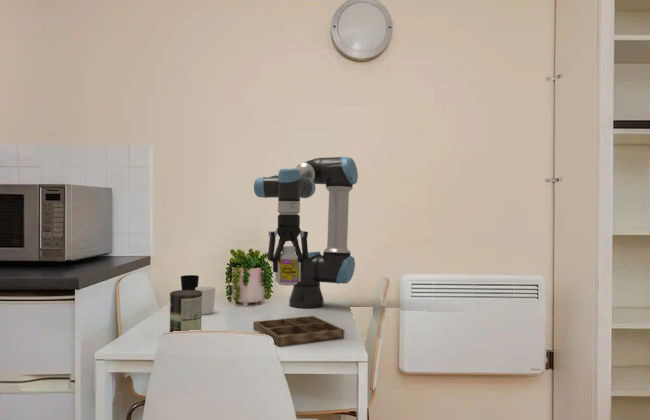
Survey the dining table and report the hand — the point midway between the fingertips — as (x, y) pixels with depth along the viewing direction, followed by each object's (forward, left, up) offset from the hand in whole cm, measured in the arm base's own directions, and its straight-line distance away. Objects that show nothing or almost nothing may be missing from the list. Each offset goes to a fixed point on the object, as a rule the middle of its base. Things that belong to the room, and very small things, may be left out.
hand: (287, 281), depth 168 cm
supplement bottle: (0, 0, -1) cm, 1 cm away
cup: (+20, -63, -17) cm, 68 cm away
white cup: (+18, -42, -17) cm, 49 cm away
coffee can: (+32, -10, -17) cm, 38 cm away
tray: (-2, +4, -17) cm, 18 cm away
